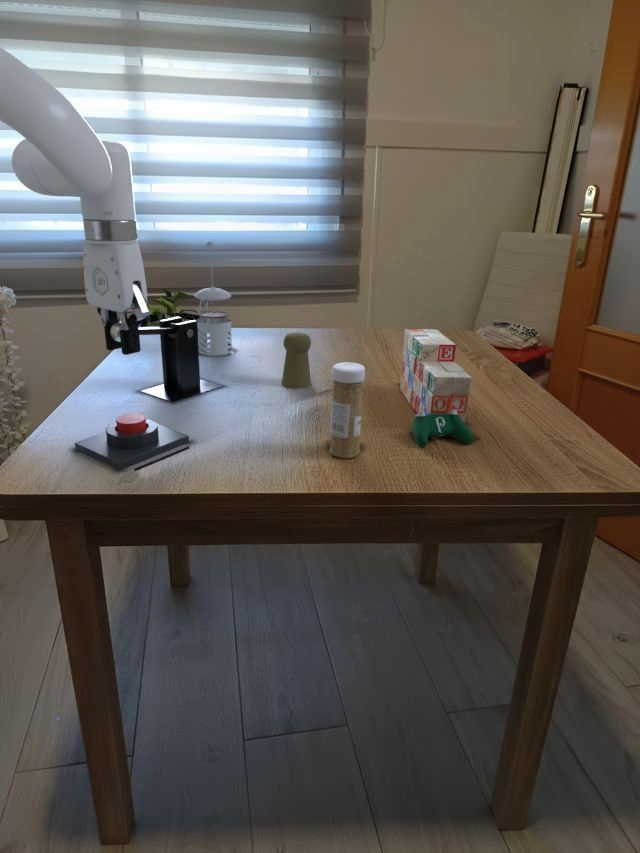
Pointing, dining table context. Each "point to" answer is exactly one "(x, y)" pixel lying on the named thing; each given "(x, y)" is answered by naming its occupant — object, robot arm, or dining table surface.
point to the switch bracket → (180, 363)
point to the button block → (132, 445)
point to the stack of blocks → (433, 374)
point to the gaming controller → (440, 427)
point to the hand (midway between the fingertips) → (123, 349)
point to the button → (131, 423)
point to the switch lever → (143, 331)
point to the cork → (296, 361)
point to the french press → (213, 321)
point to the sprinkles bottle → (346, 409)
